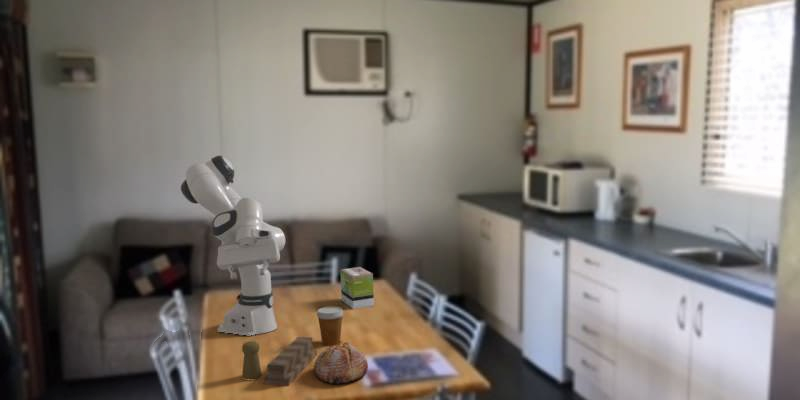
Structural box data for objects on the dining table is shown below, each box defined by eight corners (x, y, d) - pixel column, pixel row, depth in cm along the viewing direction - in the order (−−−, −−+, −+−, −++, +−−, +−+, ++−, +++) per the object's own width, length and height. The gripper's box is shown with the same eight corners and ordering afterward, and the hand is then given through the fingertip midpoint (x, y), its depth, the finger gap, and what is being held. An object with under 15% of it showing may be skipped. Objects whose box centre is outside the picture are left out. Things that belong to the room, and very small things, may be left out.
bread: (358, 363, 212) (359, 333, 212) (373, 385, 194) (374, 352, 193) (309, 366, 208) (310, 336, 207) (319, 389, 189) (320, 356, 188)
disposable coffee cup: (348, 339, 233) (347, 307, 232) (338, 348, 224) (337, 314, 223) (324, 337, 236) (323, 305, 235) (313, 345, 227) (312, 312, 226)
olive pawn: (257, 380, 196) (255, 346, 195) (238, 379, 197) (236, 345, 196) (265, 373, 202) (263, 339, 201) (247, 372, 203) (245, 338, 202)
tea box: (340, 301, 285) (339, 268, 283) (361, 298, 289) (360, 266, 288) (352, 309, 271) (351, 275, 270) (374, 306, 276) (373, 272, 274)
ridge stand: (288, 385, 192) (288, 366, 191) (263, 383, 194) (262, 364, 193) (316, 355, 217) (316, 337, 217) (294, 354, 219) (293, 336, 218)
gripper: (215, 239, 212) (212, 276, 204) (276, 230, 212) (276, 267, 204) (221, 249, 217) (219, 285, 209) (281, 240, 217) (281, 276, 209)
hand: (248, 276), depth 206 cm, fingers open, 8 cm apart
